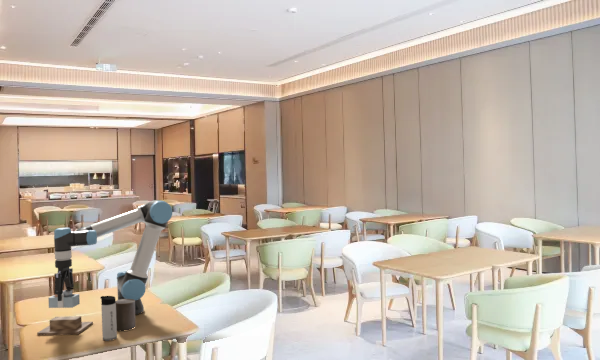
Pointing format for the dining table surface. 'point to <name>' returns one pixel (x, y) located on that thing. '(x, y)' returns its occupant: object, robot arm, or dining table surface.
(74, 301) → the blue-grey open box
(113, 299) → the travel mug
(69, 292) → the metal block
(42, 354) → the dining table surface
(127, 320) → the pillar candle
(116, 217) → the robot arm
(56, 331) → the dock
